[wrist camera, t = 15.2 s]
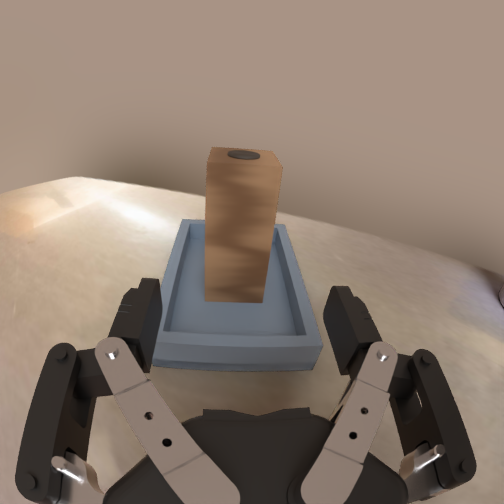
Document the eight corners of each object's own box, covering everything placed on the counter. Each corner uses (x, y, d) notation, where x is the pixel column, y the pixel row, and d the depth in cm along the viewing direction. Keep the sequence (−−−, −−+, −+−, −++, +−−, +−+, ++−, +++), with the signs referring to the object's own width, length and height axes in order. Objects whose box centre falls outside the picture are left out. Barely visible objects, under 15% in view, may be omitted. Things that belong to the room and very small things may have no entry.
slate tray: (280, 246, 35) (284, 224, 34) (312, 369, 20) (323, 345, 19) (182, 241, 34) (182, 219, 32) (153, 365, 19) (146, 340, 17)
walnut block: (257, 269, 29) (272, 149, 22) (262, 303, 25) (283, 165, 18) (207, 267, 28) (212, 145, 22) (204, 301, 24) (207, 160, 18)
